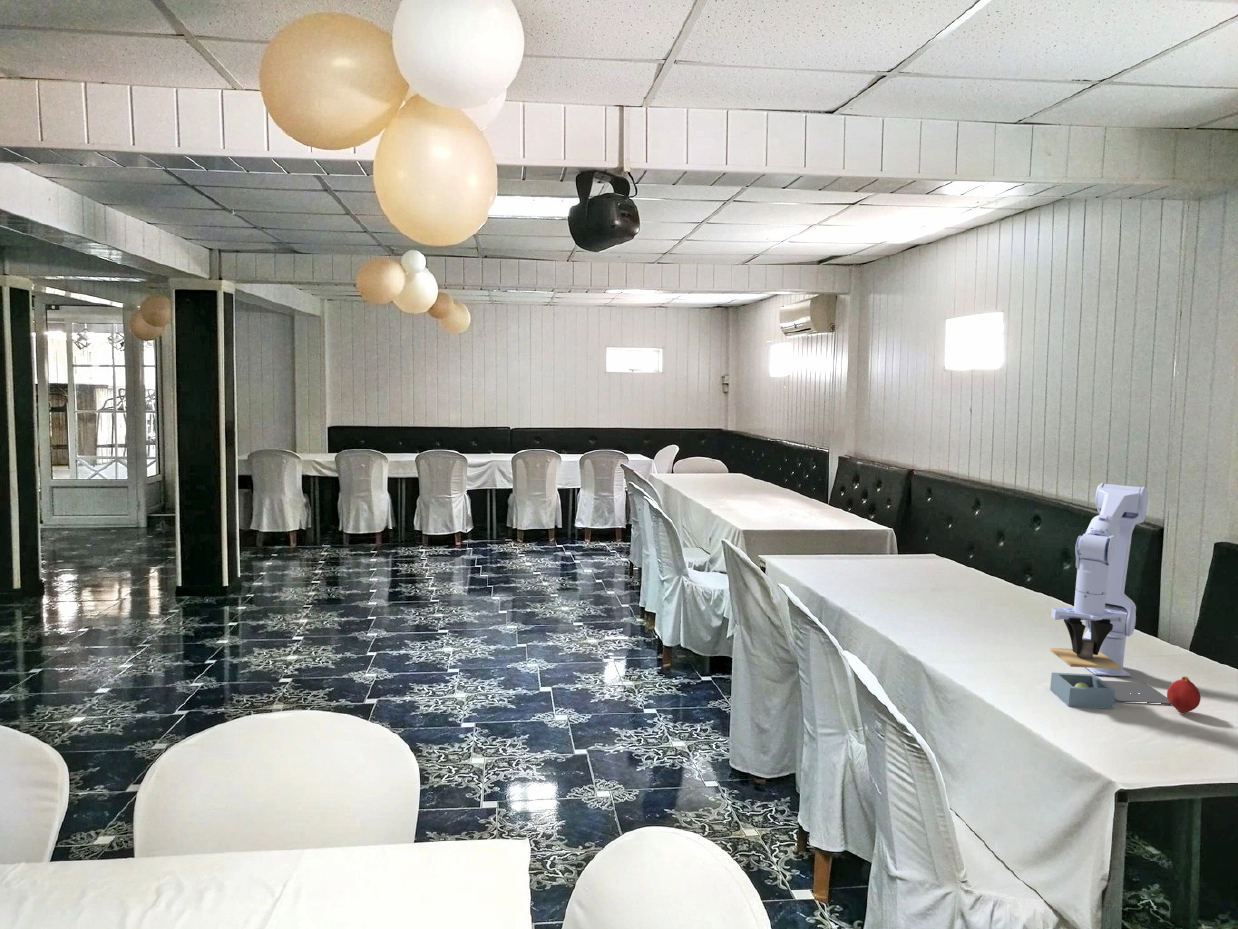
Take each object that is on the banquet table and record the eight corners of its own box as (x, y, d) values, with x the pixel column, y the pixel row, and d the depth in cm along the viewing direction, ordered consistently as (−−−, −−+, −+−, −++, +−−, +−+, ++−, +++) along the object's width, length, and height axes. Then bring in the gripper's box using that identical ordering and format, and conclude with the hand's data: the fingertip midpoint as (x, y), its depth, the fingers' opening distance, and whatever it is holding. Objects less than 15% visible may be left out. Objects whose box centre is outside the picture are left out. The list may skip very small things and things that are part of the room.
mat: (1090, 681, 193) (1090, 679, 193) (1145, 684, 192) (1145, 682, 192) (1116, 702, 181) (1117, 700, 181) (1175, 705, 180) (1175, 703, 180)
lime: (1071, 692, 184) (1072, 680, 184) (1084, 693, 184) (1085, 680, 183) (1077, 697, 181) (1078, 685, 181) (1090, 698, 181) (1092, 685, 181)
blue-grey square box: (1050, 690, 187) (1051, 672, 187) (1092, 692, 187) (1094, 674, 186) (1068, 706, 178) (1070, 688, 178) (1113, 708, 178) (1114, 690, 177)
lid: (1050, 650, 187) (1051, 632, 186) (1097, 652, 186) (1099, 634, 186) (1070, 666, 177) (1072, 647, 176) (1120, 669, 176) (1122, 649, 176)
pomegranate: (1167, 705, 180) (1171, 668, 179) (1199, 712, 177) (1204, 675, 176) (1163, 713, 176) (1167, 676, 175) (1196, 721, 172) (1201, 683, 171)
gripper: (1063, 594, 176) (1058, 657, 178) (1136, 597, 175) (1130, 661, 177) (1049, 585, 183) (1043, 646, 185) (1119, 588, 182) (1113, 649, 184)
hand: (1085, 653), depth 181 cm, fingers closed on lid, 3 cm apart
